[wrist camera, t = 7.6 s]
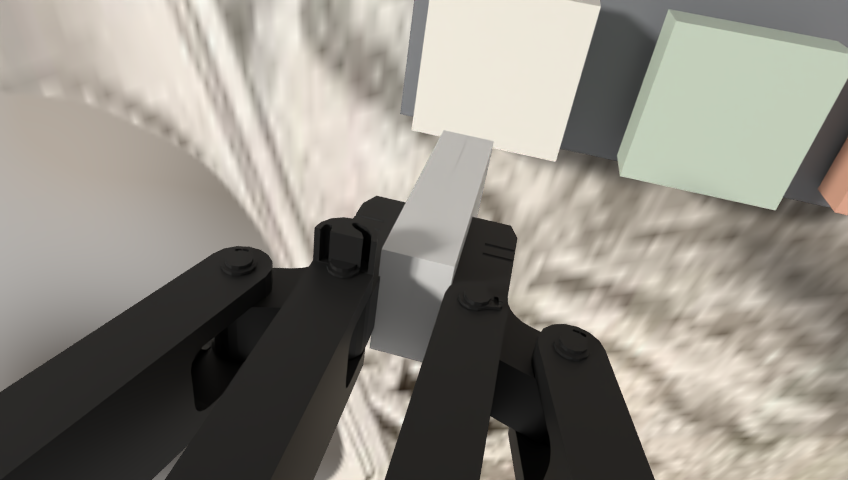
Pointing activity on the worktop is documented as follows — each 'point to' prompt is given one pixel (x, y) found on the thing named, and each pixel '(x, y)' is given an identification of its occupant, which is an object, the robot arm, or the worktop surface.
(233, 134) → the worktop surface
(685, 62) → the sage key
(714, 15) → the keypad board
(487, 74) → the cream key
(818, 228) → the worktop surface
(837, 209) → the terracotta key
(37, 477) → the robot arm
